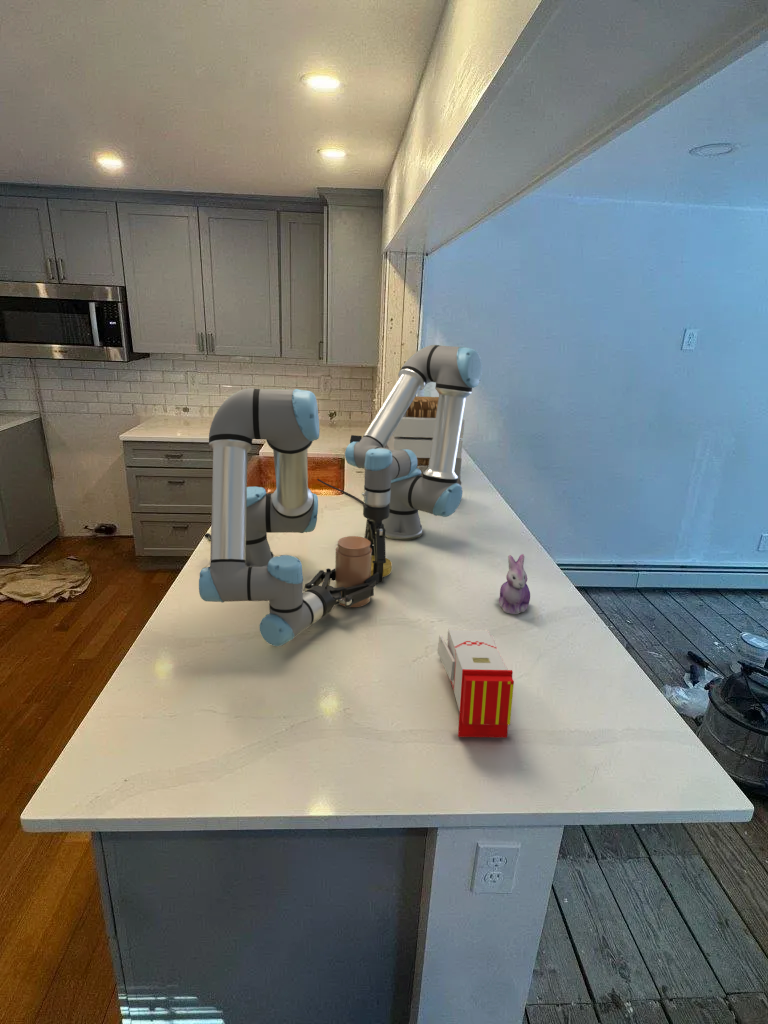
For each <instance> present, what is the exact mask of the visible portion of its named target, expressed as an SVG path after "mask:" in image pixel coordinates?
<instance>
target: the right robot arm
mask: <svg viewBox="0 0 768 1024" xmlns="http://www.w3.org/2000/svg"><path fill="white" fill-rule="evenodd" d="M397 376H398V379H397V380H396V382H395V384H394V385H393V387H392V388H391V390H390V392H389V393H388V394H387V397H386V398H385V400H384V401H383V403H382V405H381V406H380V408H379V410H378V412H377V413H376V414H375V416H374V417H373V419H372V420H371V423H370V424H369V426H368V428H367V429H366V431H365V432H364V434H363V435H362V439H361V440H360V442H351V443H350V442H349V444H347V446H346V448H345V452H344V457H345V461H346V463H347V464H348V465H349V466H352V467H355V468H358V469H364V486H363V491H364V492H362V493H361V496H362V497H363V500H361V499H360V498H358V497H356V496H354V495H352V494H351V493H348V492H346V491H344V490H343V489H340V488H337V487H335V486H333V485H331V484H329V483H327V482H325V481H322V480H321V479H319V478H317V480H316V481H318V482H319V483H322V484H323V485H325V486H327V487H329V488H332V489H334V490H336V491H338V492H341V493H343V494H345V495H347V496H349V497H351V498H353V499H354V500H356V501H358V502H359V503H361V504H362V505H363V508H362V511H363V512H362V515H363V517H364V518H365V519H366V522H365V523H366V524H365V529H364V530H365V531H364V538H366V539H368V540H369V541H370V543H371V545H370V548H371V549H372V555H374V557H375V561H372V563H374V565H373V575H374V574H375V573H377V572H378V573H379V582H378V583H379V584H380V583H383V580H384V577H383V563H386V558H387V557H386V538H387V539H389V540H395V541H410V540H415V539H418V538H420V537H421V536H422V535H423V525H422V524H421V517H420V515H419V511H421V512H424V513H427V514H431V515H433V516H439V517H443V518H447V517H450V516H452V515H453V514H454V513H455V512H456V511H457V509H458V508H459V506H460V504H461V501H462V498H463V487H462V484H461V485H459V484H458V483H457V480H458V476H457V475H456V474H455V472H454V469H455V463H456V457H457V451H458V444H459V438H460V432H461V425H462V419H464V412H465V406H466V400H467V397H469V396H470V395H471V394H472V392H473V389H475V388H476V387H478V386H479V384H480V382H481V380H482V376H483V362H482V359H481V355H480V354H479V352H478V351H477V350H476V349H473V348H471V347H466V346H453V345H451V346H450V345H441V344H440V345H439V344H429V345H427V346H424V347H422V348H421V349H419V350H417V351H416V352H415V353H414V354H413V355H411V356H410V357H409V358H408V359H407V360H406V361H405V362H404V364H403V365H402V367H400V369H399V371H398V373H397ZM429 383H435V388H434V389H435V391H436V392H437V393H438V397H439V399H438V406H437V412H436V419H435V426H434V433H433V439H432V446H431V453H430V459H429V465H428V466H427V468H426V469H425V470H423V471H422V470H421V469H420V468H417V467H418V466H417V464H418V463H417V462H418V461H417V457H416V455H415V454H414V452H412V451H411V450H408V449H404V450H403V449H402V450H399V451H396V450H391V449H387V448H384V447H385V446H386V444H387V442H388V441H389V439H390V437H391V436H392V434H393V432H394V431H395V429H396V428H397V426H398V424H399V423H400V421H401V419H402V418H403V416H404V414H405V413H406V411H407V409H408V408H409V406H410V404H411V403H412V401H413V399H414V398H415V397H417V394H418V393H419V392H420V391H423V390H424V389H425V387H426V386H427V384H429ZM460 439H461V438H460ZM378 583H377V584H378Z"/></svg>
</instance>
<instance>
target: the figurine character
mask: <svg viewBox="0 0 768 1024" xmlns="http://www.w3.org/2000/svg"><path fill="white" fill-rule="evenodd" d="M362 437H363V435H353V434H351V435H350V440H349V444H350V443H351V442H360V440H361V439H362Z"/></svg>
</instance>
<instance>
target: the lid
mask: <svg viewBox="0 0 768 1024" xmlns="http://www.w3.org/2000/svg"><path fill="white" fill-rule="evenodd" d="M372 561H375V557H374V555H372ZM373 565H374V563H371V576H372V575H373ZM392 568H393V564H392V561H391V560H390V559H389V558H387V557H386V563H383V578H384V577H387V576H389V575H390V574H391V573H392V571H393V570H392Z"/></svg>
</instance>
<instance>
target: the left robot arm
mask: <svg viewBox="0 0 768 1024" xmlns="http://www.w3.org/2000/svg"><path fill="white" fill-rule="evenodd" d="M319 416H320V415H319V408H318V401H317V397H316V395H315V393H314V392H313V391H311V390H306V389H299V388H295V389H283V388H282V389H280V388H279V389H277V388H254V387H253V388H252V387H251V388H244V389H240V390H238V391H236V392H233V393H232V394H231V395H229V396H228V398H226V399H225V400H224V401H223V403H222V404H221V405H220V406H219V407H218V409H217V411H216V412H215V415H214V417H213V419H212V421H211V424H210V428H209V432H208V447H209V448H210V450H212V482H211V483H212V485H211V519H210V520H211V521H210V522H211V523H210V533H208V532H207V533H205V534H204V538H205V537H207V538H209V539H210V555H209V556H210V557H209V559H210V561H209V566H207V567H202V569H200V572H199V579H198V592H199V593H198V594H199V596H200V599H201V600H202V601H204V602H210V603H211V602H213V603H214V602H218V603H227V602H263V601H264V602H265V601H266V602H268V611H269V612H268V613H267V614H265V616H264V617H263V618H261V620H260V623H259V626H258V628H259V633H260V635H261V638H262V639H263V640H264V641H265V642H266V643H267V644H269V645H271V646H273V647H281V646H283V645H285V644H286V643H288V642H290V641H293V640H294V638H296V637H297V636H298V635H300V634H301V633H302V632H304V631H305V630H307V629H308V628H309V627H311V626H312V625H313V624H315V623H316V622H317V621H319V620H320V619H321V618H323V617H325V616H326V615H327V614H329V613H330V612H331V611H332V610H333V609H334V607H335V606H337V605H340V603H342V604H345V606H344V608H346V609H349V608H351V607H350V606H352V605H353V604H355V603H357V602H360V601H362V600H364V599H367V598H369V597H370V598H371V597H373V596H374V593H375V587H376V586H377V584H378V582H379V573H378V572H377V573H375V574H374V575H372V576H371V577H369V578H368V579H366V580H365V581H364V584H359V585H355V586H351V587H346V588H345V587H339V588H335V586H333V585H330V584H331V581H333V582H335V568H333V569H331V568H326V569H325V571H326V572H325V571H324V570H323V569H320V570H319V571H318V572H317V573H316V574H315V575H314V576H313V578H312V579H311V580H310V581H308V582H306V583H305V584H304V574H303V564H302V561H301V560H300V559H299V558H297V557H296V556H292V555H288V554H281V555H279V556H277V555H276V556H275V555H274V553H273V550H272V549H271V546H270V544H269V543H270V542H269V541H268V533H270V534H272V533H291V534H292V533H293V534H295V533H299V534H305V533H311V532H313V531H314V530H315V529H316V526H317V522H318V514H319V498H318V495H317V494H316V493H313V492H312V489H310V488H309V476H308V472H309V471H308V469H309V468H308V467H309V466H308V465H309V464H308V462H309V461H308V457H309V456H308V449H309V448H310V447H311V446H312V443H313V442H314V441H317V440H319V438H320V418H319ZM253 440H262V441H263V440H264V441H266V444H267V445H268V446H269V448H271V449H272V452H273V464H274V475H275V485H276V489H275V490H274V491H273V493H271V492H270V493H267V491H266V488H264V487H262V486H247V485H248V453H249V452H250V451H251V450H252V449H253ZM379 583H380V582H379ZM341 591H342V596H341Z"/></svg>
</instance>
